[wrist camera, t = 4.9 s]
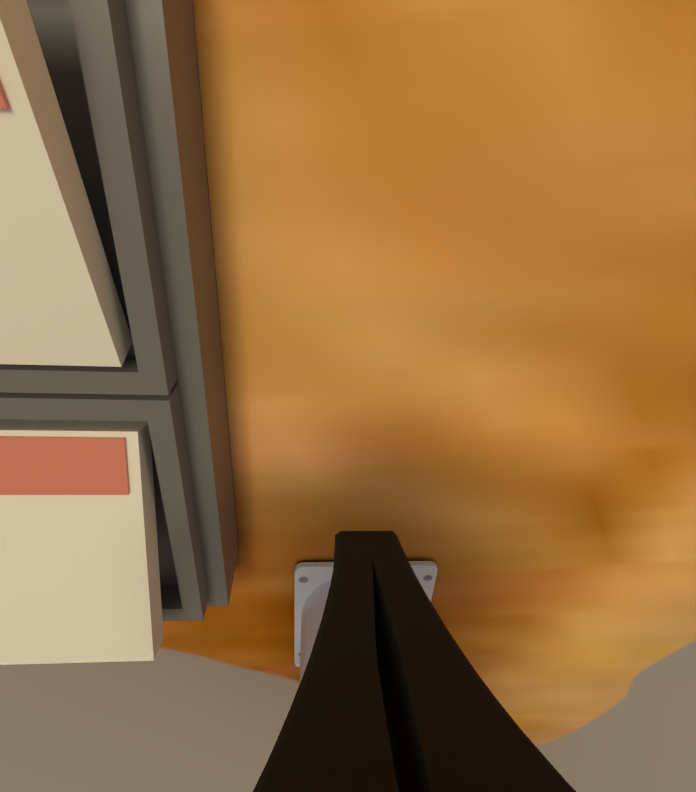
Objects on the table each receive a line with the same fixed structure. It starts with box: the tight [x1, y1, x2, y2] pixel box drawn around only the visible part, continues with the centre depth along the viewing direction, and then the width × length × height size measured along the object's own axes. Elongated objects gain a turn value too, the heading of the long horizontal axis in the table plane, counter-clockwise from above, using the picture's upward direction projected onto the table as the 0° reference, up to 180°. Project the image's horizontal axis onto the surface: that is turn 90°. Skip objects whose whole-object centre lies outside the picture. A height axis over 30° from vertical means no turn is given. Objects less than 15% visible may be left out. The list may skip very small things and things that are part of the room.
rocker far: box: [0, 419, 164, 665], centre depth 17 cm, size 9×6×1 cm, turn 177°
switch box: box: [0, 0, 239, 621], centre depth 17 cm, size 24×10×5 cm, turn 177°
